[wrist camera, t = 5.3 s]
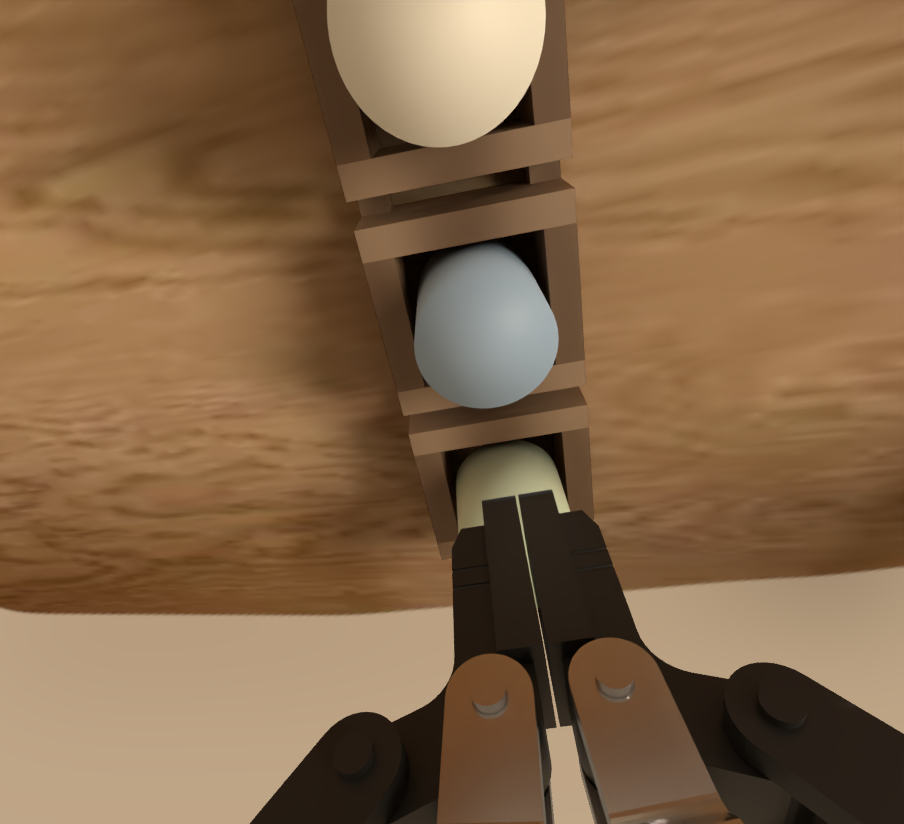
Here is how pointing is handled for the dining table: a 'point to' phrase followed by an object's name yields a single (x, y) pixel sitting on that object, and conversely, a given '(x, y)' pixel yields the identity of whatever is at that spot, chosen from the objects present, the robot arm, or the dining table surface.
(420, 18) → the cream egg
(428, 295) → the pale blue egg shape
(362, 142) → the wooden compartment tray
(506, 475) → the pale yellow rounded cylinder
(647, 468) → the dining table surface
